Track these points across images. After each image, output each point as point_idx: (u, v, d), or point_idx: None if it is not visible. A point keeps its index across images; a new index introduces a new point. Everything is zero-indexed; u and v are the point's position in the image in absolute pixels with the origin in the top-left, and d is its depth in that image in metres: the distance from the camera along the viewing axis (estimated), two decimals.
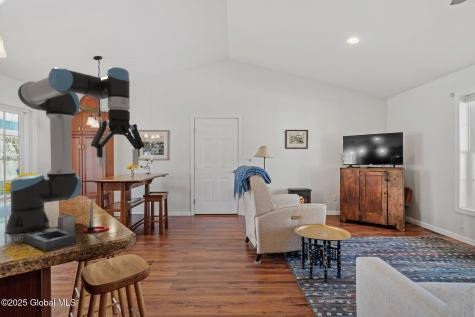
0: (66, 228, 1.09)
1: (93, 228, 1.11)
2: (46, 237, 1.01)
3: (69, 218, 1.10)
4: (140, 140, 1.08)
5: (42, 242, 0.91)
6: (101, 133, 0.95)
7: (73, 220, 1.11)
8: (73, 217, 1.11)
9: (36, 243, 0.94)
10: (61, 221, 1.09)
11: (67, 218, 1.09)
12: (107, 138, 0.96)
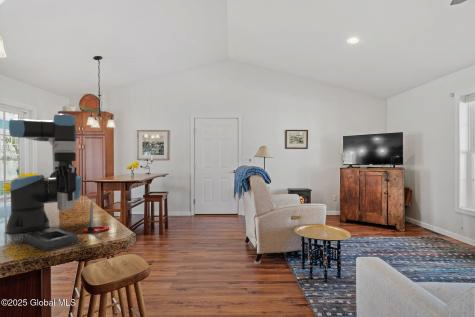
0: None
1: (93, 228, 1.11)
2: (46, 237, 1.01)
3: None
4: (68, 184, 1.07)
5: (42, 242, 0.91)
6: (56, 177, 1.13)
7: None
8: None
9: (36, 243, 0.94)
10: (60, 196, 1.09)
11: None
12: (59, 181, 1.12)
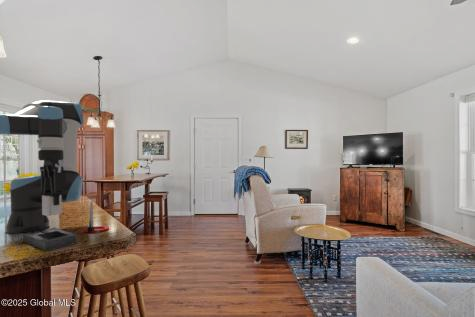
0: None
1: (93, 228, 1.11)
2: (46, 237, 1.01)
3: None
4: (54, 186, 0.94)
5: (42, 242, 0.91)
6: (41, 179, 1.00)
7: None
8: None
9: (36, 243, 0.94)
10: (45, 200, 0.95)
11: None
12: (44, 183, 0.98)
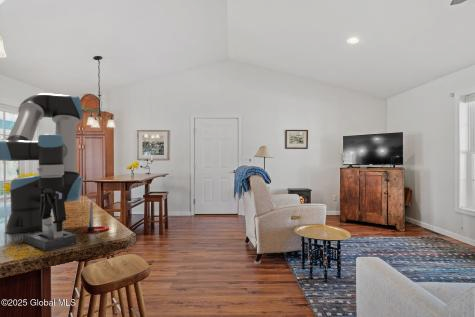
0: (51, 238, 0.96)
1: (93, 228, 1.11)
2: None
3: None
4: (57, 213, 0.93)
5: (42, 242, 0.91)
6: (40, 203, 1.00)
7: None
8: None
9: (36, 243, 0.94)
10: (46, 230, 0.96)
11: (53, 227, 0.96)
12: (43, 208, 0.99)
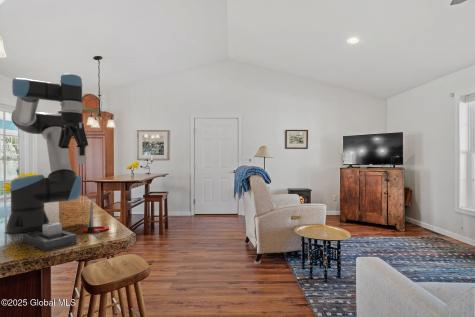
0: (52, 238, 0.96)
1: (93, 228, 1.11)
2: None
3: (55, 226, 0.97)
4: (79, 138, 1.05)
5: (42, 242, 0.91)
6: (60, 136, 1.14)
7: (60, 229, 0.98)
8: (60, 225, 0.98)
9: (36, 243, 0.94)
10: (46, 230, 0.96)
11: (53, 226, 0.96)
12: (63, 139, 1.13)
